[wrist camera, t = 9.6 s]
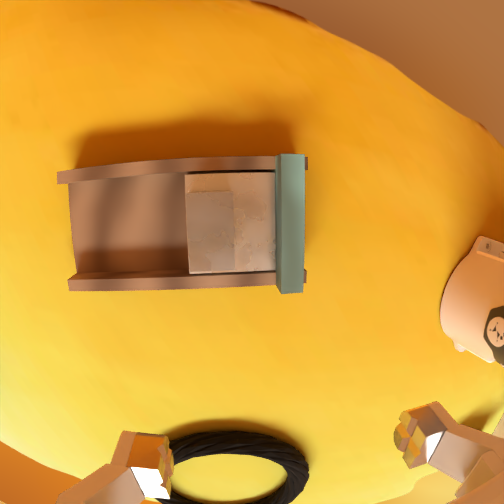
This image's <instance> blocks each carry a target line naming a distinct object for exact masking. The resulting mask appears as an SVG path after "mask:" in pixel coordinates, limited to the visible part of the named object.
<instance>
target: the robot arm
mask: <svg viewBox="0 0 504 504" xmlns="http://www.w3.org/2000/svg"><path fill="white" fill-rule="evenodd" d="M440 320H441V325H442V328H443V331H444V332H445V334H446V335H447V336H449V337H450V338H451V339H452V340H453V343H454V346H455V349H456V350H458V351H460V352H463V351H465V350H468V351H470V352H472V353H473V354H475V355H477V356H478V357H480V358H482V359H483V360H485V361H487V362H490V363H491V362H493V361H497V362H498V363H499V364H500V365H502V367H504V243H501V242H499V241H496V240H493V239H490V238H487V237H484V236H479V237H478V238H477V239H476V241H475V243H474V245H473V247H472V249H471V251H470V253H469V254H468V255H467V256H466V257H465V258H464V259H463V260H462V261H461V262H460V263H459V265H458V266H457V267H456V269H455V270H454V272H453V273H452V275H451V277H450V279H449V281H448V283H447V286H446V288H445V291H444V294H443V298H442V302H441V309H440ZM399 420H400V421H401V423H400V424H399V425H398V426H397V427H396V428H395V431H394V442H395V445H396V447H397V449H398V450H400V451H402V452H404V453H403V459H404V461H405V462H406V464H407V466H408V467H409V469H411V468H414V467H417V466H420V465H423V464H425V463H428V462H429V463H428V464H429V465H431V466H433V467H435V468H436V469H438V470H440V471H441V472H443V473H445V474H447V475H448V476H450V477H452V478H454V479H455V480H457V481H459V482H461V483H462V484H461V485H460V487H459V488H458V489H457V491H456V493H455V495H456V497H457V499H455V500H453V501H451V502H449V503H447V504H504V439H503V438H500V437H497V436H494V435H491V434H488V433H485V432H482V431H479V430H476V429H474V428H471V427H468V426H465V425H463V424H460V425H458V424H457V423H456V421H455V420H454V419H453V418H452V417H451V416H450V414H449V413H448V412H447V411H446V410H445V409H444V408H443V406H442V405H441V404H440V403H439V402H437V401H435V402H432V403H429V404H426V405H423V406H419V407H416V408H413V409H409V410H406V411H403V412H402V413H401V415H400V418H399ZM173 470H174V458H173V453H172V450H171V449H169V439H168V436H166V435H158V434H148V433H140V432H131V431H123V432H122V433H121V435H120V438H119V441H118V443H117V446H116V449H115V452H114V455H113V458H112V461H111V463H110V464H105V465H104V466H102V467H101V468H99V469H98V470H96V471H95V472H93V473H92V474H90V475H89V476H87V477H86V478H84V479H83V480H82V481H80V482H78V483H77V484H75V485H74V486H72V487H71V488H69V489H68V490H66V491H64V492H63V493H61V494H60V495H59V496H58V499H57V501H56V504H140V503H141V502H142V501H143V500H144V499H145V497H153V498H165V499H170V492H171V485H172V484H171V481H170V478H169V477H171V476H172V475H173ZM0 504H6V503H4V502H2V501H0Z"/></svg>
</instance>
